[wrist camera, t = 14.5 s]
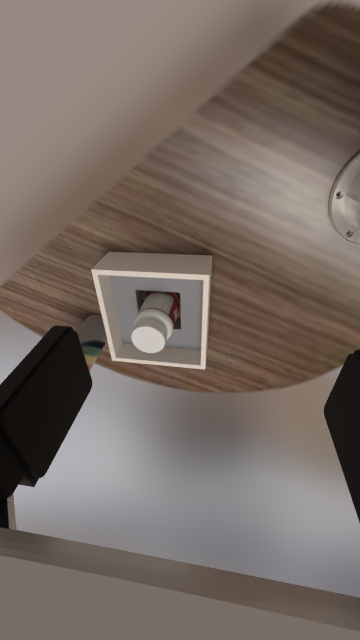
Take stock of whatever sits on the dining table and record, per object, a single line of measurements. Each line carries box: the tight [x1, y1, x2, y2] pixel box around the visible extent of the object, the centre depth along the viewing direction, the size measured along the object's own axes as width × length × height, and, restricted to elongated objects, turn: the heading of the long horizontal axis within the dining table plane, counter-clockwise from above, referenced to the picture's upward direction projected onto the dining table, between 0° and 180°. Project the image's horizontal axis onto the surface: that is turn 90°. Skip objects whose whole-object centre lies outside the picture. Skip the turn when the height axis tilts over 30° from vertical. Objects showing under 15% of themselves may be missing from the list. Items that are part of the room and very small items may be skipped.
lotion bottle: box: [76, 315, 107, 371], centre depth 46 cm, size 6×6×20 cm
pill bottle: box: [131, 291, 180, 353], centre depth 43 cm, size 6×6×11 cm
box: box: [91, 252, 212, 369], centre depth 45 cm, size 17×18×7 cm
